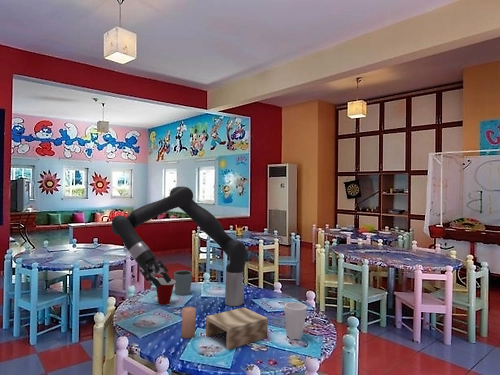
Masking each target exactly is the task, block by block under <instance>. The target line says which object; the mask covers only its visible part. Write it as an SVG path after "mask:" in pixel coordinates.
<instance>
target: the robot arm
mask: <svg viewBox="0 0 500 375" xmlns="http://www.w3.org/2000/svg"><path fill="white" fill-rule="evenodd" d="M176 208H177V209H178V208H179V209H180V210H181V211H183V212H184V213H185V214H186V215H187V216H188V217H189V218H190V219H191V220H192V221H193V222H194V223H195V224H196V226H197V227H198V228H200V230H201V231H202V232H204V233H205V235H207V236H208V237H209V238H210V239H211V240H213V241H214V242H215V243H216V244H217V245H218V246H219V248H220V249H221V250H222V251H223V253H224V254H225V255H226V256H228V257H229V264H227V265H226V267H225V269H226V270H225V287H224V288H225V290H224V292H225V293H224V295H225V296H224V304H225V305H226V306H230V307H238V306H241V305H243V304H245V285H244V268H245V266H246V259H247V246H246V245H245V243H243V242H241V241H237V240H235V239H234V238H232V237H231V236H230V235H229V234H228V233H227V232H226V231H225V230H224V227H223V226H222V223H221V222H220V221H219V220H218V219H217V218H216V217H215V215H213V214H212V213H211V212H210V211H209V210H207V209H205V207H202V206H201V205H199V204H198V203H196V201H195V200H194V192H193V191H192V189H191V188H189V187H188V186H174V187H173V188H171V190H170V192H169V196H166V197H163V198H162V199H159V200H155V201H152V202H151V203H148V204H145V205H142V206H140V207H138V208H136V209H135V210H132V211H131V212H130V214H129V215H128V216H124V215H123V214H122V215H121V214H117V215H116V216H114V217H113V218H112V221H111V229H112V230H111V231H112V233H113V234H114V235H116V236H119V237H120V238H121V240H122V244H123V245H124V246H125V248H126V249H127V250H128V252H129V254H130V256H131V257H132V258H133V260H134V261H135V263H136V264H137V265H138V266H139V268H140V269H139V272H140V273H141V275H142V276H143V278H144V279H145V281H146V282H149V281H150V282H151V283H152V284H153V285H154V287H155V288H159V287H160V286H161V283H160V282H159V281H158V279H159V278H157V277H156V275H159V276H162V278H164V279H165V281H166V282H167V283H169V282H170V281H171V279H172V278H171V277H170V276H169V274H168V272H169V269H168V268H167V267H166V265H164V263H163V262H162V261H161V260H158V261H156V260H155V259H156V256H155V254H154V252H153V251H152V250H151V249H150V247H149V246H148V245H147V244H146V243H145V242H144V241H143V240H142V238H141V237H140V235H138V233H137V232H136V230H135V229H136V228H137V227H139V226H140V225H142V224H144V223H147V222H148V221H150V220H152V219H155V218H156V217H159V216H160V215H162V214H164V213H166V212H167V213H168V212H169V211H171V210H174V209H176Z"/></svg>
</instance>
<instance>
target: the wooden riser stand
mask: <svg viewBox="0 0 500 375" xmlns="http://www.w3.org/2000/svg"><path fill="white" fill-rule="evenodd" d="M205 319H206V320H205V336H206V337H211V336H216V335H219V334H222V332H223V333H226V337H225V338H226V343H225V348H226V350H228V351H230V350H233V349H236V348H238V347H241V346H244V345H248V344H251V343H253V342H254V343H255V342H256V341H257V342H258V341H261V340H263V338H264V339H267V338H268V327H269V326H268V325H269V318H268V317H266V316H264V315H261V314H259V313H258V312H255V311H253V310H251V309H248V308H246V307H239V308H235V309H231V310H228V311H222V312H219V313H214V314H211V315H206V317H205ZM218 333H219V334H218ZM266 337H267V338H266ZM260 339H261V340H260Z"/></svg>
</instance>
